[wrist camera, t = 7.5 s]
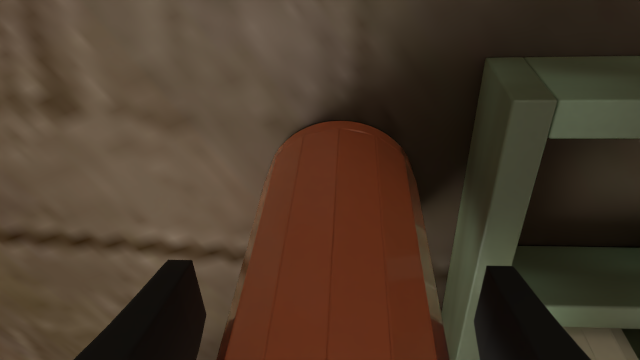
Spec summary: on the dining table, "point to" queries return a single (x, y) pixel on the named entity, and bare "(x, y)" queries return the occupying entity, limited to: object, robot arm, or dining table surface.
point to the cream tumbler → (602, 343)
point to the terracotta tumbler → (337, 256)
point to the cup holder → (517, 185)
